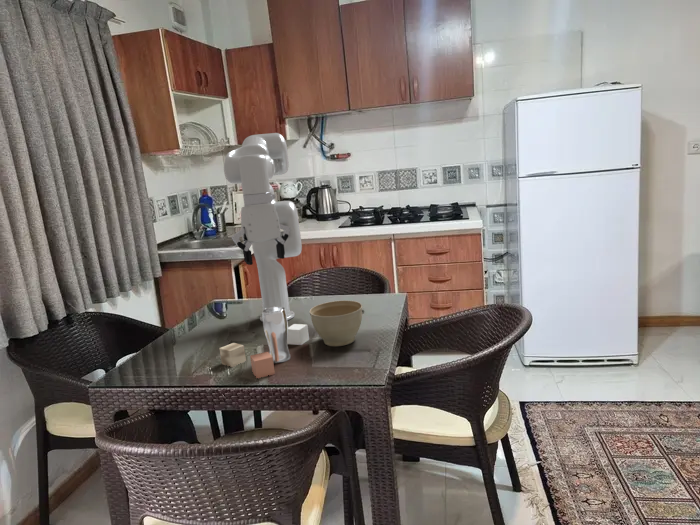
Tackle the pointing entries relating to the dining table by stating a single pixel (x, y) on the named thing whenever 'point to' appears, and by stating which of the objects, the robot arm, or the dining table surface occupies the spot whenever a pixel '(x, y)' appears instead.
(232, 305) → the dining table surface
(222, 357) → the beech block
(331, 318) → the planter bowl
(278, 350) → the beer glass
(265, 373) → the rust block
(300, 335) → the cream block
